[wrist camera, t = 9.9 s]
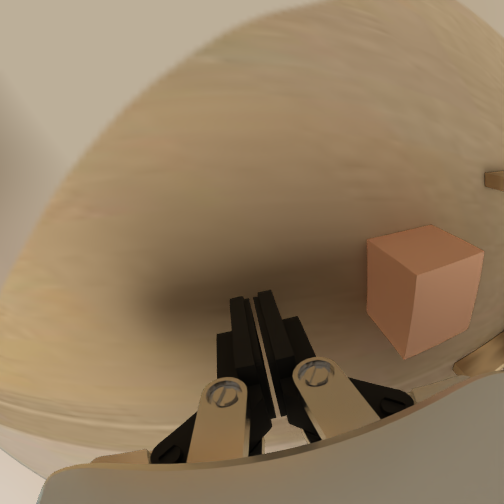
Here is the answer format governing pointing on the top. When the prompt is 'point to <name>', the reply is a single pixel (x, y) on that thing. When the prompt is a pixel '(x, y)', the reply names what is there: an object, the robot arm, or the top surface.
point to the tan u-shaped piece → (499, 348)
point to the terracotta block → (421, 286)
